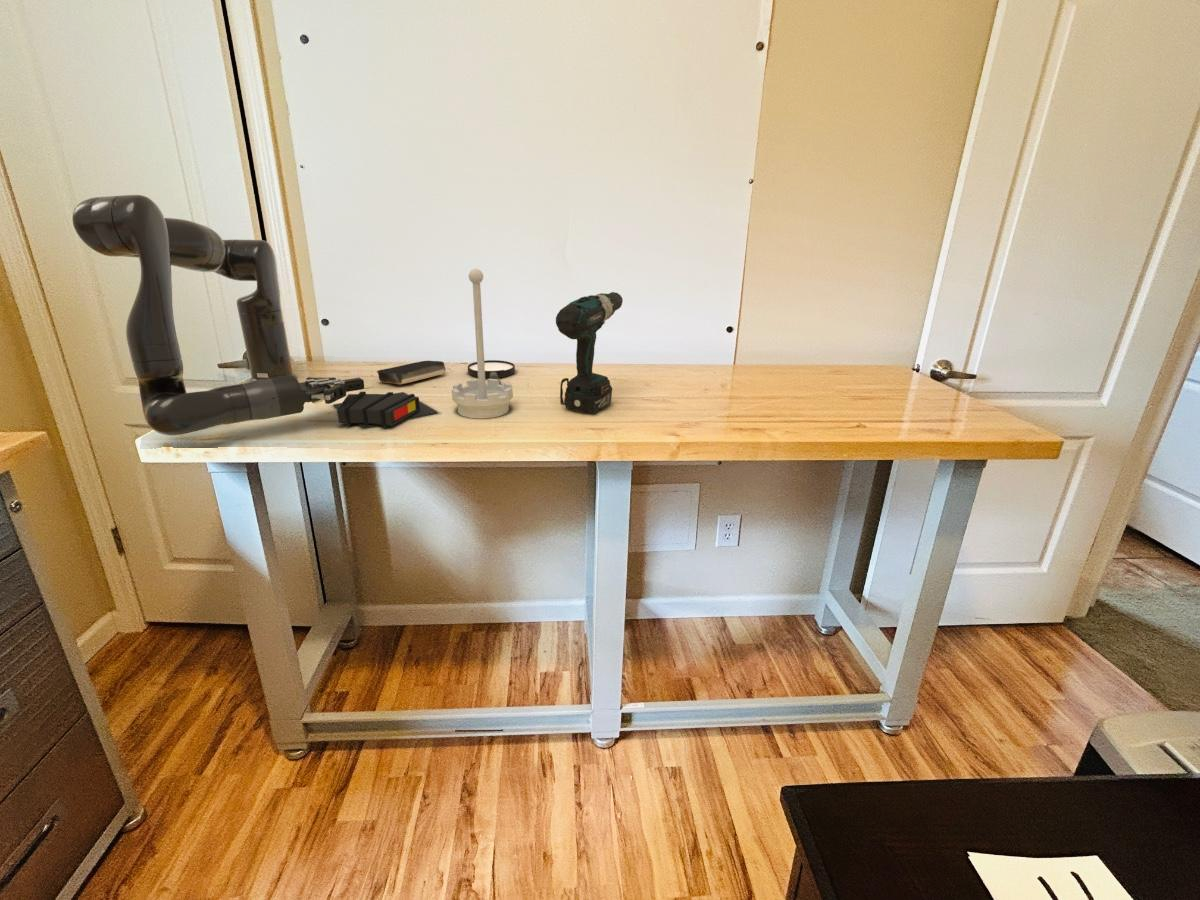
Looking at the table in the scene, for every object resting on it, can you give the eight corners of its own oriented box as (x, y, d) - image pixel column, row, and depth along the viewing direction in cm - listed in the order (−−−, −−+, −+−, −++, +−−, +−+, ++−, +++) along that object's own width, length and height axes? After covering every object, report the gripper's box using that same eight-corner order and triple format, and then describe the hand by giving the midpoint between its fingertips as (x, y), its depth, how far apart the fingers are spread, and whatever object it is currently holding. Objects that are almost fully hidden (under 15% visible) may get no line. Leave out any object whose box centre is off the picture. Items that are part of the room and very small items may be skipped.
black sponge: (396, 389, 146) (395, 374, 145) (375, 382, 151) (374, 368, 149) (449, 376, 158) (448, 362, 157) (428, 370, 163) (427, 357, 162)
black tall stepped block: (361, 404, 134) (421, 411, 130) (320, 423, 122) (385, 431, 119) (358, 387, 133) (419, 394, 129) (317, 405, 121) (382, 413, 117)
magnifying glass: (471, 392, 145) (470, 384, 144) (466, 367, 166) (466, 360, 165) (523, 390, 148) (523, 381, 147) (512, 365, 169) (512, 358, 168)
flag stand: (514, 418, 128) (508, 272, 117) (451, 420, 126) (439, 272, 115) (512, 400, 140) (508, 265, 129) (455, 401, 138) (445, 265, 127)
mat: (333, 406, 134) (333, 404, 133) (403, 393, 143) (402, 391, 143) (363, 428, 121) (363, 426, 121) (437, 413, 131) (437, 411, 130)
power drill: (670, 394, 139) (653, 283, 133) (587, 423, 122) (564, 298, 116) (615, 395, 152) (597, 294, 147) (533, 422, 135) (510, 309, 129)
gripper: (277, 386, 110) (372, 372, 120) (259, 371, 119) (349, 359, 129) (285, 425, 112) (377, 408, 123) (266, 407, 122) (353, 392, 132)
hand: (362, 383), depth 126 cm, fingers closed
